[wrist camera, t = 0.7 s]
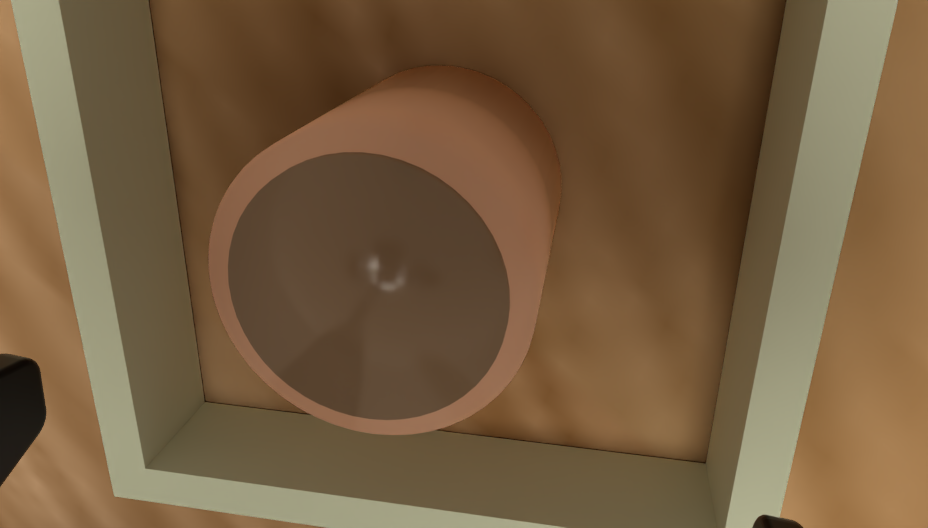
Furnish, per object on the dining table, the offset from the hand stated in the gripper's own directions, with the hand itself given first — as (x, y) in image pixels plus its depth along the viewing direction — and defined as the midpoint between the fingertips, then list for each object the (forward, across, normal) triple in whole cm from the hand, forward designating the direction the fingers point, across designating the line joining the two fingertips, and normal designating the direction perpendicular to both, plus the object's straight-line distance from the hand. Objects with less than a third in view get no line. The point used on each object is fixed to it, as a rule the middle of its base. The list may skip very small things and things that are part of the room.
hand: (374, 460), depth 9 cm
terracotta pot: (+12, +2, +1) cm, 12 cm away
